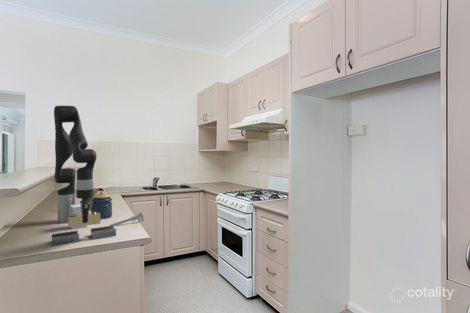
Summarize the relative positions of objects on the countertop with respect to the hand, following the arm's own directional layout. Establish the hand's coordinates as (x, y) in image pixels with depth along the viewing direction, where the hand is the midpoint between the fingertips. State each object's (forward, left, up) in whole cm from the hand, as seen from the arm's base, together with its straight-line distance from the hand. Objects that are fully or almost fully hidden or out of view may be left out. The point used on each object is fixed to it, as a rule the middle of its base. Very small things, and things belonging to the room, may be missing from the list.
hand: (84, 221), depth 135 cm
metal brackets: (0, 0, -9) cm, 9 cm away
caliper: (-16, +24, -9) cm, 30 cm away
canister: (-42, +14, -9) cm, 45 cm away
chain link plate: (0, 0, -2) cm, 2 cm away
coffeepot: (-71, +12, -9) cm, 73 cm away
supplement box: (-25, -1, -9) cm, 27 cm away
